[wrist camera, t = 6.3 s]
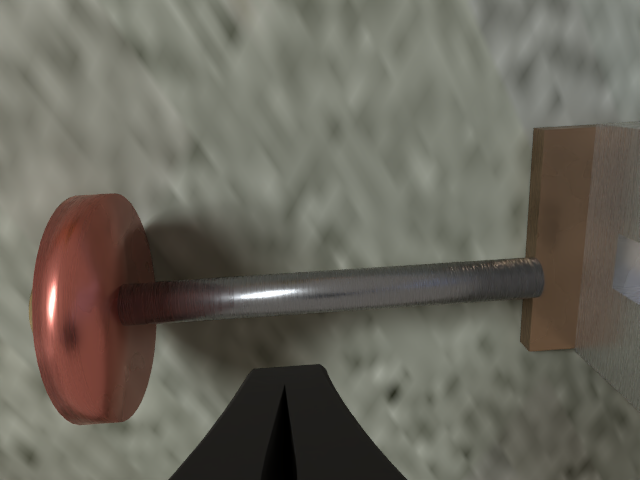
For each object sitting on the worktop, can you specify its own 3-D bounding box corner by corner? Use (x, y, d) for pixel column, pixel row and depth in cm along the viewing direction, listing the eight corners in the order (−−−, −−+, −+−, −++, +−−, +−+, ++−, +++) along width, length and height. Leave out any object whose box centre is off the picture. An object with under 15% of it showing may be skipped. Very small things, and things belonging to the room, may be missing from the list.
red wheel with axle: (499, 155, 18) (609, 191, 12) (491, 328, 19) (582, 439, 13) (71, 179, 17) (-51, 232, 11) (104, 355, 19) (14, 483, 13)
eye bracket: (677, 116, 18) (815, 128, 13) (647, 334, 20) (754, 409, 16) (533, 125, 18) (620, 139, 13) (520, 343, 20) (589, 422, 15)
